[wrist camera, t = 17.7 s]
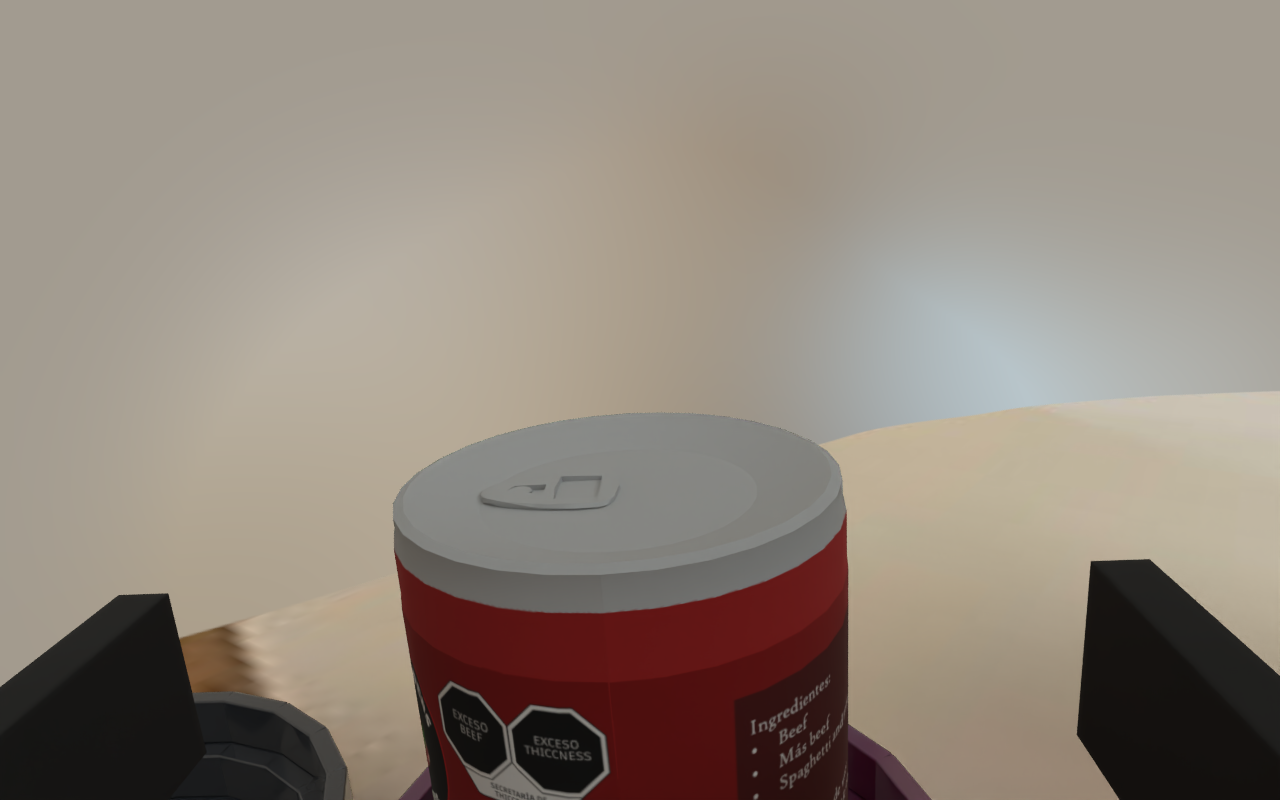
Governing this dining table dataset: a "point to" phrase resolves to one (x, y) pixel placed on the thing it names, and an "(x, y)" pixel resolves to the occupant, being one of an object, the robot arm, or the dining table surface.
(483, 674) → the canned food
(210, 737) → the dark bowl
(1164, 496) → the dining table surface
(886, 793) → the plum bowl
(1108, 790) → the dining table surface
